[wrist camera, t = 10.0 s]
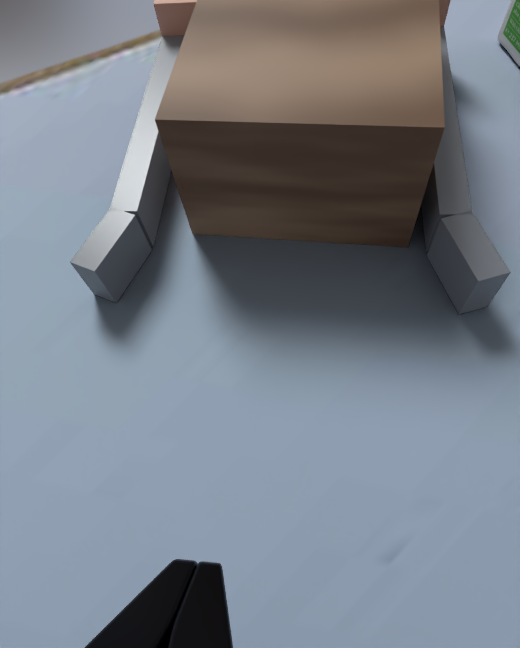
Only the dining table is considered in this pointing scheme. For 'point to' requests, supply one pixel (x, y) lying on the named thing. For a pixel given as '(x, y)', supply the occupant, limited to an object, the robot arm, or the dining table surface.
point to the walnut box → (305, 118)
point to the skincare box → (511, 31)
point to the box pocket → (154, 170)
